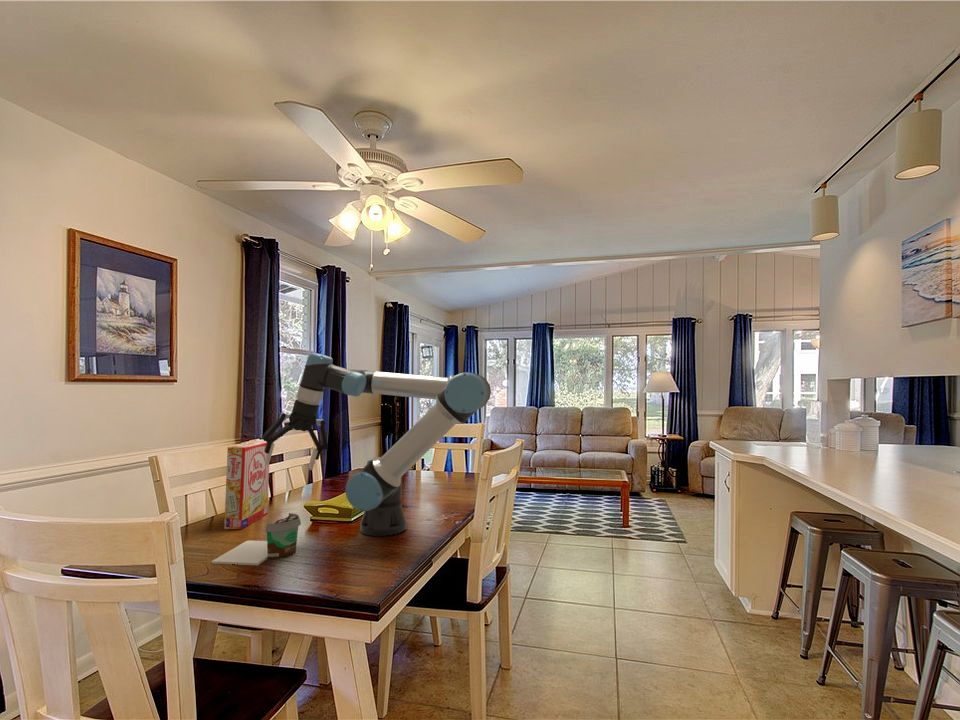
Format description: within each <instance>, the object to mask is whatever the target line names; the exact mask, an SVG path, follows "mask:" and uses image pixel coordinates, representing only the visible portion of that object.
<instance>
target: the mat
mask: <svg viewBox="0 0 960 720" xmlns="http://www.w3.org/2000/svg"><path fill="white" fill-rule="evenodd" d="M267 560H269V559H268V552H267V540H246V541H244V542H242V543H240V544H238V545H237V546H235V547H233V548H232V549H230V550H228V551H226V552H225V553H224V554H221V555H220V556H218V557H216V558H214V559H213V560H211V561H210V564H211V563H212V564H213V565H232V564H235V565H237V564H238V565H239V566H259V565H261V564H262V563H263V562H265V561H267ZM212 564H211V565H212ZM238 565H237V566H238Z"/></svg>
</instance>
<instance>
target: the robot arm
mask: <svg viewBox="0 0 960 720" xmlns="http://www.w3.org/2000/svg"><path fill="white" fill-rule="evenodd" d="M333 362H334V360H333V358H332V356H328V355H325V354H322V353H321V354H320V353H317V352H311V353H309V355H308V357H307V360H306V363H305V364H304V369H303V372H302V376H301V381H300V384H299V386H298V390H297V393H296V399H295V401H294V404H293V406H292V410H291V412H290V414H288V413H285V412H284V411H281V412H279V413H280V414H279V415H278V418H277V419H276V420H275V421H274V423H273V424H271V425H270V426H269V428H267V430H266V431H265V432H264V433H263V434H262V436H261V438H262V441H266V442H267V444H266V447H265V453H267V455H266V459H265V464H266V465H269V466H270V462H271V458H272V455H273V451H274V449H275V448H274V447H275V444H274V443H275V442H276V441H277V440H279V439H280V438H281V437H283V436H284V435H285V434H287V433H288V432H290V431H292V430H295V431H302V432H306V431H307V432H308V434H309V436H310V438H311V439H312V441H313V443H314V445H315V447H314V448H313V449H312V452H311V456H310V460H309V462H308V463H309V464H308V467H307V468H308V470H309V471H313V470H314V465H315V463H316V461H318V460H319V458H320V455H321V452H322V451H323V450H328V448H329V446H328V441H327V436H326V435H327V434H326V430H325V424H326V421H325V420H324V418H320V419H318V418H317V416H318V412H319V409H320V405H319V404H320V403H321V401H322V398H323V395H324V392H325V389H329V390H333V391H336V392H339V393H342V394H345V395H347V396H351V397H355V398H356V397H360V396H361V395H362V394H363V393H364V394H372V395H373V394H375V395H384V396H385V395H386V396H395V397H407V398H415V399H416V398H417V399H427V400H436V401H435V402H436V403H435V404H434V405H433V406H432V407H431V408H430V409H429V410H428V411H427V412H426V413H424V415H423V416H422V417H421V418H420V419H419V420H418V421H417V422H416V423H415V424H413V425H412V427H410V428H409V430H407V432H405V433H404V434H403V436H401V437H400V438H399V440H397V442H395V443H394V444H393V445H392V446H391V447H390V448H389V449H388V450H387V451H386V452H385V453H384V454H383V455H382V456H379V457H378V456H376V457H373V458H372V459H368V460H367V462H366V465H364V467H363V468H362V469H360V470H359V471H358V472H355V473H353V474H352V475H351V476H350V478H349V479H348V480H347V482H346V485H345V497H346V499H347V502H348V503H349V504H350V505H351V506H352V507H353V508H354V509H355V510H357V511H361V512H364V513H363V515H362V518H361V520H360V525H359V527H360V528H359V532H360V533H362V534H363V535H366V536H372V537H386V535H389V536H393V535H392V534H395V535H398V534H397V533H399V534H401V533H400V532H402V531H404V530H405V529H406V530H407V520H406V516H405V512H404V509H403V505H402V498H403V496H402V495H403V492H402V491H403V489H402V488H403V476H404V475H405V474H406V473H407V472H408V471H409V470H410V469H411V468H412V467H413V466H414V465H415V464H417V462H418V461H419V460H421V458H423V457H424V456H425V455H426V453H428V452H429V451H430V450H431V449H432V448H433V447H434V446H435V445H436V444H437V443H438V442H439V441H440V440H441V439H442V438H443V437H444V436H445V435H446V434H447V433H448V432H449V431H450V430H452V428H453V427H454V426H456V425H464V423H466V422H467V421H468V420H469V419H470V418H471V417H472V416H473V415H474V414H475V413H476V412H477V411H478V410H480V409H482V408H483V407H485V406H486V405H487V403H488V402H489V400H490V398H491V395H492V391H491V389H492V388H491V385H490V383H489V382H488V380H487V379H486V378H485V377H484V376H483V375H480V374H479V373H473V372H469V371H468V372H467V371H465V372H461V373H457V374H456V375H455V374H451V375H449V376H448V377H445V376H433V375H422V374H421V375H420V374H411V373H410V374H408V373H397V372H389V371H387V372H386V371H373V370H372V371H371V370H366V369H364V370H363V369H350V368H349V369H348V368H344V367H341V366H338V365H335V364H333ZM287 420H289V422H288V423H286V424H285V425H284V426H283V427H282V428H280V426H281V425H282V424H283V423H284V421H287ZM315 425H316V426H317V427H318V431H319V437H320V441H319V439H318V438H317V436H316V433H315V431H314V429H313V426H315ZM278 428H280V429H279V430H278ZM277 430H278V431H277ZM320 442H321V444H320ZM406 530H405V531H406ZM405 531H404V532H405ZM402 533H403V532H402Z"/></svg>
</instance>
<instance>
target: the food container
mask: <svg viewBox="0 0 960 720" xmlns="http://www.w3.org/2000/svg"><path fill="white" fill-rule="evenodd" d="M301 524H302V522H301V518H300V516H299V515H298V513H288V516H286V517H285V518H281V519H278V520H276V521H275V522H274V523H266V526H265V532H266V541H267V552H268V559H267V560H270V559H273V560H281V558H282V559H286V558H289V557H291V556H294V555H296V552H297V551H296V550H297V544H298V543H297V542H298V534H299V532H298V531H299V527H300V526H301Z"/></svg>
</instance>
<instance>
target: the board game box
mask: <svg viewBox="0 0 960 720" xmlns="http://www.w3.org/2000/svg"><path fill="white" fill-rule="evenodd" d="M266 444H267V442H266V441H264V440H254V441H250V442H246V443H243V444H238V445H233V446H227V454H226V455H227V456H226V475H225V476H226V479H225V500H224V501H225V502H224V521H223V522H224V523H223V524H224V525H223V526H224V527H223V530H242V529H244V528H246V527H247V525H248V526H249V525H251V524H253V523H255V522H256V521H258V520H259V519H261V518H263V517H264V516H267V515H268V514H269V508H268V507H269V487H270V486H269V482H270V481H269V480H270V464H269V465H266V464H265V459H266V455H267V453H265V447H266ZM254 521H255V522H254Z"/></svg>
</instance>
